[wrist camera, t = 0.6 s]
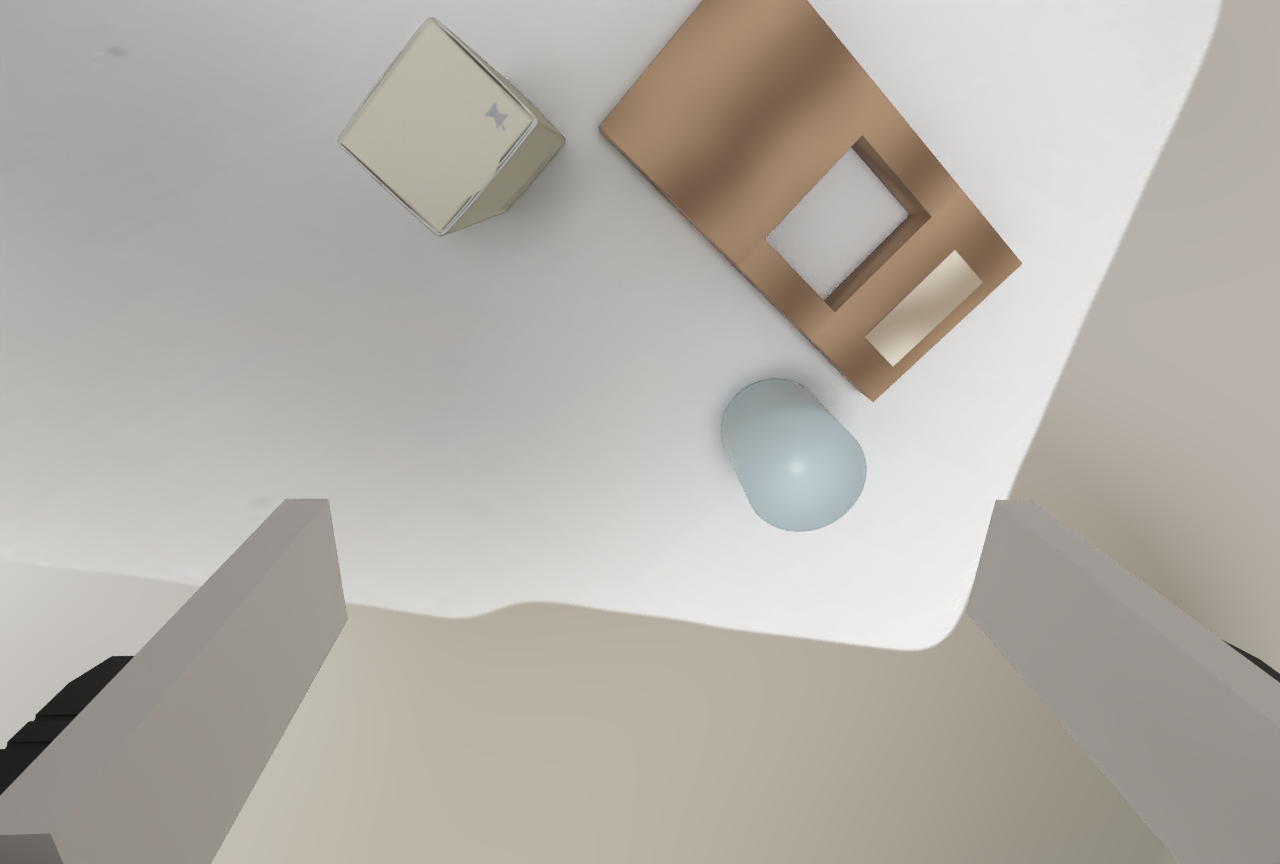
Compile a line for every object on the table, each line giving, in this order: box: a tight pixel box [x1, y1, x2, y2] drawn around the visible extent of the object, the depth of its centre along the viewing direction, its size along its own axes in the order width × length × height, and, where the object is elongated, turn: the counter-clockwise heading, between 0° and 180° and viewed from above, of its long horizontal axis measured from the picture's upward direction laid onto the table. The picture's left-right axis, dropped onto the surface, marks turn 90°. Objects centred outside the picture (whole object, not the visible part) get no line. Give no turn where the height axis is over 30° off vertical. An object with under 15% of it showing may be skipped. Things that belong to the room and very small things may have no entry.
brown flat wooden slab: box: [599, 0, 1022, 402], centre depth 32 cm, size 20×10×2 cm, turn 47°
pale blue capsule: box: [721, 379, 866, 532], centre depth 35 cm, size 6×6×7 cm
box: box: [338, 18, 565, 236], centre depth 26 cm, size 5×4×13 cm
